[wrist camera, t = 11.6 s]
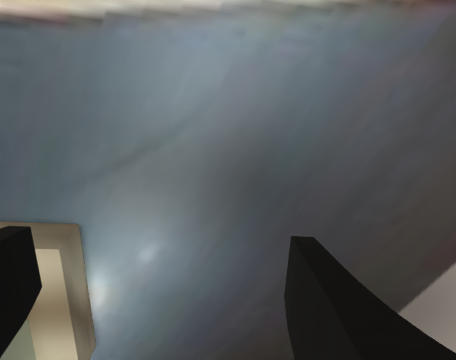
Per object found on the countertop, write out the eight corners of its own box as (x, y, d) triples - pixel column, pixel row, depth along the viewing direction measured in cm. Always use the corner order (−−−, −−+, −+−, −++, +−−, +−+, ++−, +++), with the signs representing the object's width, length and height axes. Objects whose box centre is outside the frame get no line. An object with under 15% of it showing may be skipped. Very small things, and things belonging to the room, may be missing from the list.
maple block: (98, 339, 25) (81, 379, 22) (-37, 334, 25) (-71, 373, 22) (81, 220, 21) (59, 249, 19) (-76, 215, 21) (-122, 243, 19)
